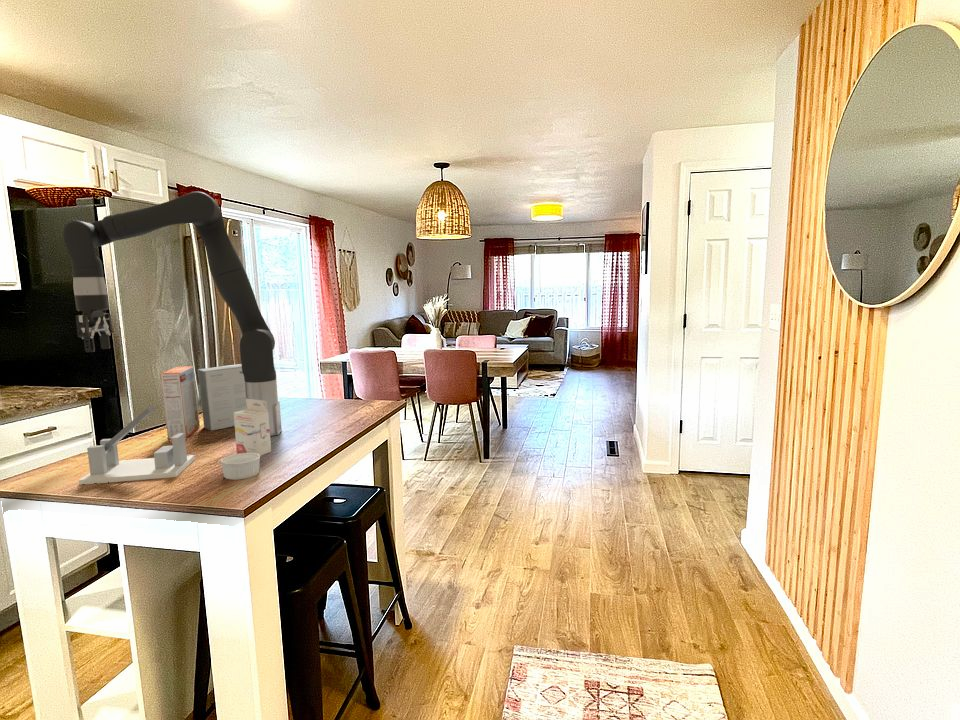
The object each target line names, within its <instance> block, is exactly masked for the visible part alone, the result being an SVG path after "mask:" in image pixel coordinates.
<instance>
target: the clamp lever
mask: <svg viewBox="0 0 960 720" xmlns="http://www.w3.org/2000/svg"><path fill="white" fill-rule="evenodd" d="M156 409H157V408H156V406H154V405H152V404H151V406H148V407H146V408H145V409H144V410H143V411H142V412H141V413H139V414H138V415H137V416H136V417H135V418H134V419H133V420H131V421H130V422H128V424H127V425H126V426H124V427H123V428H122V429H121V430H119V432H118V433H116V434H115V435H114V436H113V437H112V438H110V439H111V440H110V441H109V442H107V443H106V444H105V445H104V446H105V454H107V453H109V452H110V451H111V448H112V447H113V446H114V445H115V444H116V443H117V444H118V443H119V442H120V441H121V440H122V439H124V438H125V437H126V436H127V435H129V433H130V432H132V431H133V430H134V429H135V428H136V427H137V426H138V425H139V424H140V423H141V422H143V421H144V420H146V418H147V417H149V416H150V415H151V414H152V413H154V411H155V410H156Z"/></svg>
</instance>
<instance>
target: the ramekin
mask: <svg viewBox="0 0 960 720" xmlns="http://www.w3.org/2000/svg"><path fill="white" fill-rule="evenodd" d="M260 460H261V456H260V455H259V454H257V453H234V454H231V455H228V456H225V457H222V459H220V464H221V467H222V472H223V473H222V474H223V477H224V478H225V479H227V480H233V481H235V480H236V481H237V480H245V479H249V478H252V477H254V476H256V475H258V474H259V472H260Z"/></svg>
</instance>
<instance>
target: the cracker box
mask: <svg viewBox="0 0 960 720" xmlns="http://www.w3.org/2000/svg"><path fill="white" fill-rule="evenodd" d="M159 374H160V382H161V383H160V386H161V392H162V401H163V408H164V409H163V410H164V415H165V416H164V418H165V425H166V432H167V433H166V436H167V440H169V441H170V438H171V437H172V436H174V435H177V434H178V433H185V439H188V438H189V437H190V436H191V435H192V434H194V432H196V431H197V430H198V429H199V428H200V427H201V425H200V415H199V405H198V399H197V389H196V386H197V385H196V379H195V369H194V366H193V365H192V366H191V365H190V366H188V365H187V366H175V367H173V368H170V369H169V370H166V371H164V372H162V373H159Z"/></svg>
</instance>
